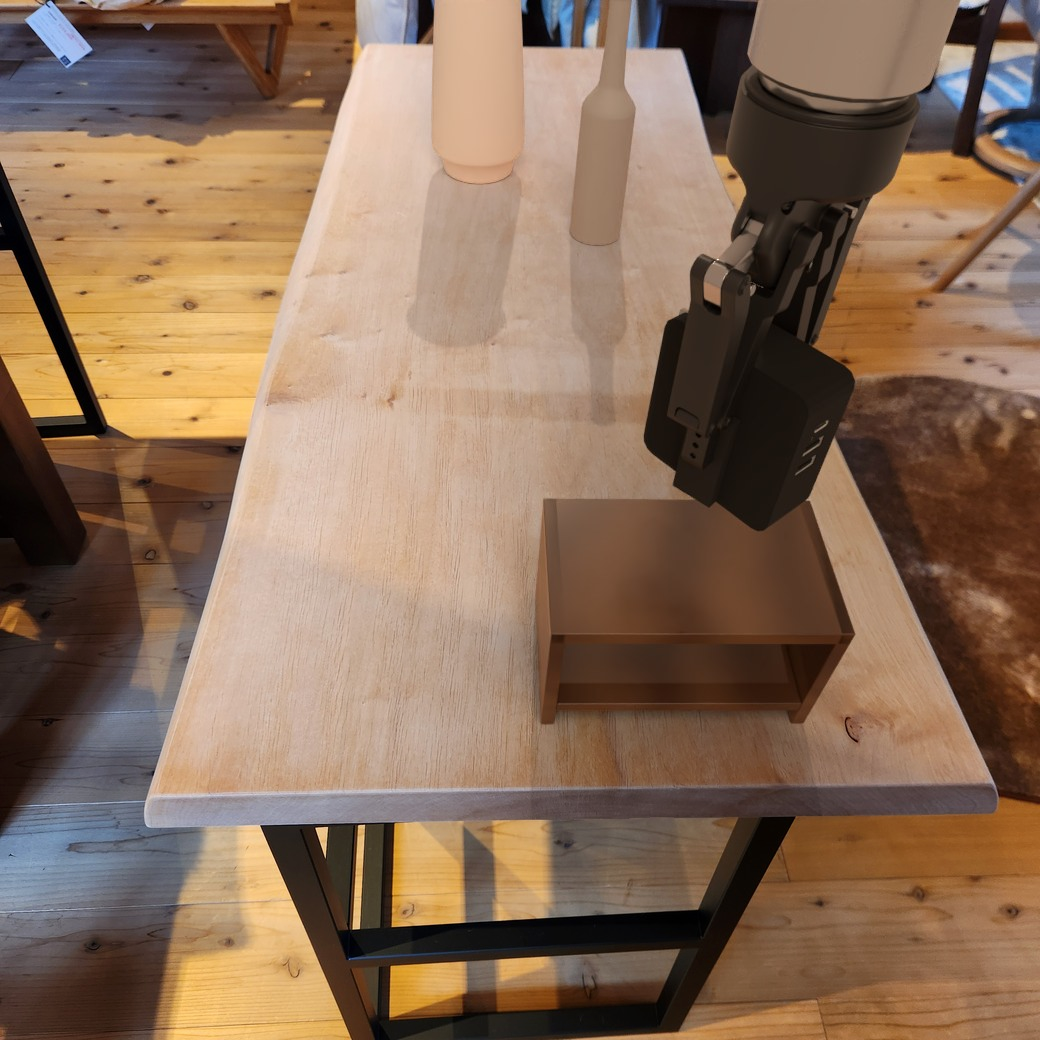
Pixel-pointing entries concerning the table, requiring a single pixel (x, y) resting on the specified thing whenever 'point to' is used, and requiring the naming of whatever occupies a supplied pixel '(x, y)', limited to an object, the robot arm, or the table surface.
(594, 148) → the bottle
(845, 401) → the electronic device
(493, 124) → the vase
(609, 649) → the shelf
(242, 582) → the table surface
